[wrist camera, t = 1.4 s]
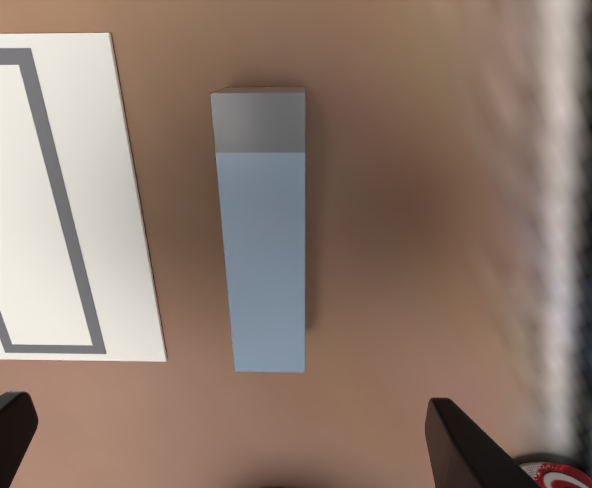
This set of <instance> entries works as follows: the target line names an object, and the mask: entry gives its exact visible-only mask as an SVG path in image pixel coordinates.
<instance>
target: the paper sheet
mask: <svg viewBox="0 0 592 488" xmlns="http://www.w3.org/2000/svg"><path fill="white" fill-rule="evenodd" d="M0 359H25V360H95V361H167V355H166V349H165V343H164V338H163V332H162V326H161V320H160V315H159V309H158V303H157V297H156V291H155V286H154V280H153V274H152V268H151V263H150V257H149V251H148V245H147V240H146V234H145V228H144V222H143V216H142V211H141V205H140V199H139V193H138V188H137V182H136V176H135V170H134V164H133V159H132V153H131V147H130V141H129V136H128V130H127V124H126V118H125V113H124V107H123V101H122V95H121V89H120V84H119V78H118V72H117V66H116V61H115V55H114V49H113V43H112V37H111V33H46V34H0Z"/></svg>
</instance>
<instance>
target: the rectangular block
mask: <svg viewBox="0 0 592 488" xmlns="http://www.w3.org/2000/svg"><path fill="white" fill-rule="evenodd" d="M210 97H211V108H212V119H213V130H214V142H215V153H216V164H217V175H218V187H219V198H220V209H221V221H222V232H223V243H224V254H225V266H226V277H227V288H228V299H229V311H230V322H231V333H232V344H233V356H234V367H235V371H238V372H305V122H306V87H226V88H223V89H221V90H218V91H215V92H213V93H210Z"/></svg>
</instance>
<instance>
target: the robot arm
mask: <svg viewBox="0 0 592 488" xmlns="http://www.w3.org/2000/svg"><path fill="white" fill-rule="evenodd" d="M37 426H38V416H37V413H36V410H35V408H34V405H33V402H32V399H31V396H30V395H29V394H28V393H27V392H25V391H9V392H6V393H4V394H2V395H0V488H9V487H10V485H11V483H12V481H13V478H14V476H15V474H16V472H17V470H18V468H19V466H20V463H21V461H22V459H23V457H24V455H25V453H26V451H27V449H28V446H29V444H30V442H31V440H32V438H33V436H34V434H35V431H36V429H37ZM425 436H426V441H427V446H428V451H429V456H430V461H431V466H432V471H433V476H434V481H435V487H436V488H542V487H541V486H540V485H539V484H538V483H537V482H536V481H535V480H534V479H533V478H532V477H531V476H530V475H528V474H527V473H526V472H525V471H524V470H523V469H522V468H521V467H520V466H519V465H518V464H517V463H516V462H515V461H514V460H513V459H512V458H511V457H510V456H509V455H508V454H507V453H506V452H505V451H504V450H503V449H502V448H501V447H500V446H499V445H497V444H496V443H495V442H494V441H493V440H492V439H491V438H490V437H489V436H488V435H487V434H486V433H485V432H484V431H483V430H482V429H481V428H480V427H479V426H478V425H477V424H476V423H475V422H474V421H473V420H472V419H471V418H470V417H469V416H468V415H466V414H465V413H464V412H463V411H462V410H461V409H460V408H459V407H458V406H457V405H456V404H455V403H454V402H453V401H452V400H451V399H449V398H431V399H430V400H429V403H428V409H427V415H426V421H425Z"/></svg>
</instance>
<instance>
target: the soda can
mask: <svg viewBox="0 0 592 488" xmlns="http://www.w3.org/2000/svg"><path fill="white" fill-rule="evenodd" d="M519 466H520V467H521V468H522V469H523V470H524V471H525V472H526V473H527V474H528V475H530V476H531V477H532V478H533V479H534V480H535V481H536V482H537V483H538V484H539V485H540V486H541V487H542V488H592V480H591V479H590V478H589V477H588V476H587V475H586V474H585V473H584V472H582V471H580V470H579V469H576V468H574V467H572V466H568V465H564V464H558V463H549V462H528V463H523V464H520V465H519Z"/></svg>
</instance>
